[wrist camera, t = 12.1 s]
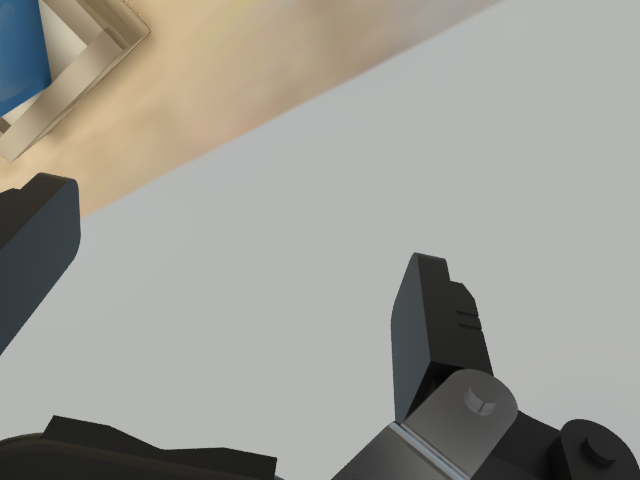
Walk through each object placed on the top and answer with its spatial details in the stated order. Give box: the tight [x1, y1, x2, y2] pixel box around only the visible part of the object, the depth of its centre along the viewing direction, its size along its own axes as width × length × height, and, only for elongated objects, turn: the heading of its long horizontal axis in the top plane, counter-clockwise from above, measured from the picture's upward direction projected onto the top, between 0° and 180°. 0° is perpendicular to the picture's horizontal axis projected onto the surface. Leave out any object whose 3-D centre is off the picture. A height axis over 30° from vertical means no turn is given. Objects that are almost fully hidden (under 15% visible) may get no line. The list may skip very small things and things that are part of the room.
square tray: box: [0, 0, 150, 163], centre depth 35 cm, size 12×12×5 cm
